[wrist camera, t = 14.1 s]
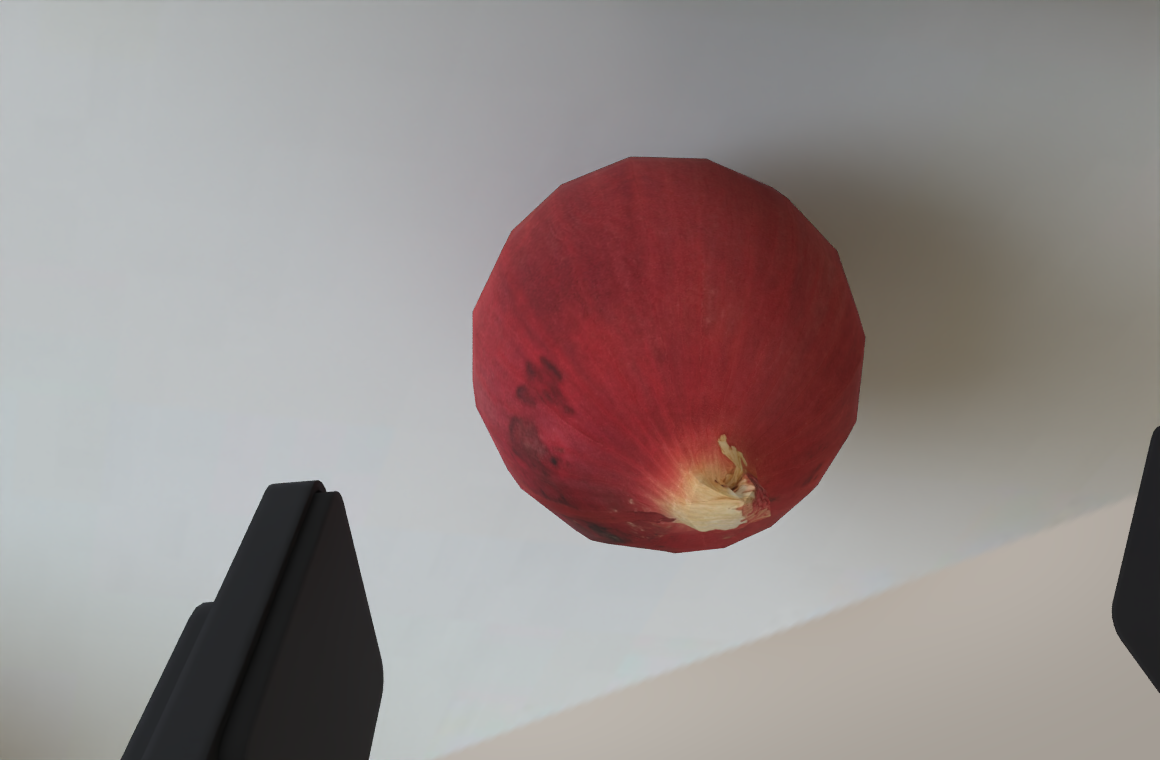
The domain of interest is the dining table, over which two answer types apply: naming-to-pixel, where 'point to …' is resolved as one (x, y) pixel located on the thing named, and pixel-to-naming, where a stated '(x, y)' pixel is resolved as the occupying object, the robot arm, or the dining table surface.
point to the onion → (667, 354)
